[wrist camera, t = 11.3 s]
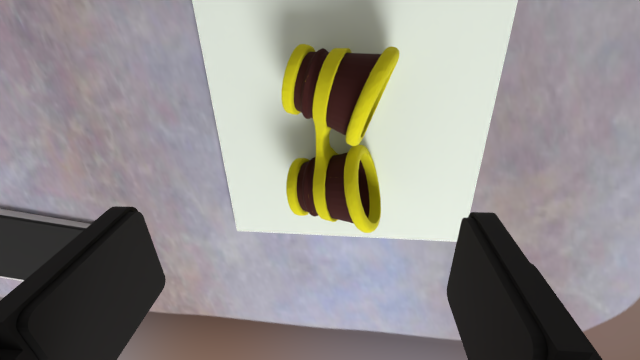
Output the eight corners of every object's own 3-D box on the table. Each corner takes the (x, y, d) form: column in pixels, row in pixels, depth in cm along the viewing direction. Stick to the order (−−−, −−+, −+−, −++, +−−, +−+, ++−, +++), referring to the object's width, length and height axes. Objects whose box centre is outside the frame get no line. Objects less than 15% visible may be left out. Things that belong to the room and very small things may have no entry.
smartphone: (121, 299, 29) (-33, 273, 30) (129, 288, 30) (-20, 264, 31) (101, 229, 25) (-76, 201, 26) (111, 220, 26) (-59, 194, 27)
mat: (239, 226, 24) (237, 231, 24) (192, -24, 17) (187, -25, 16) (460, 236, 22) (463, 241, 22) (521, -42, 15) (527, -43, 14)
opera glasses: (307, 38, 18) (265, 48, 13) (405, 42, 16) (393, 54, 12) (308, 190, 22) (278, 232, 18) (385, 203, 21) (371, 253, 17)
